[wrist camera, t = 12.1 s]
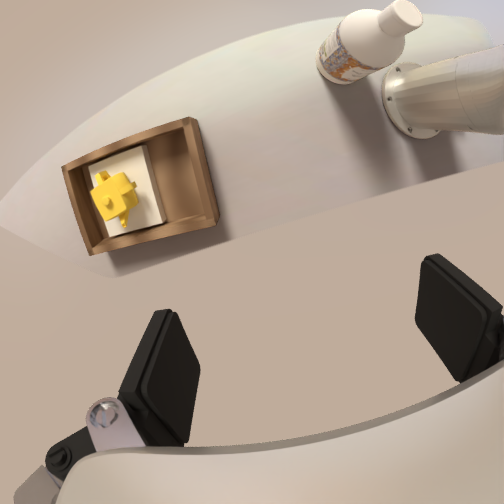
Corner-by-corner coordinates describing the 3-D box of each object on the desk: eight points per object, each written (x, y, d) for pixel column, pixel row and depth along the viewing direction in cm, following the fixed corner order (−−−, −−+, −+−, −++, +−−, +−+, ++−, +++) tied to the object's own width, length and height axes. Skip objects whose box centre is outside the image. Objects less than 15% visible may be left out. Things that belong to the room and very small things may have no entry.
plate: (146, 145, 34) (141, 145, 32) (166, 218, 38) (162, 222, 36) (94, 164, 35) (88, 166, 33) (115, 232, 39) (109, 236, 37)
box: (196, 119, 34) (189, 116, 29) (219, 215, 39) (216, 225, 34) (79, 162, 35) (61, 166, 31) (103, 243, 40) (89, 256, 36)
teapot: (155, 208, 35) (142, 219, 31) (123, 225, 36) (107, 238, 32) (130, 156, 33) (113, 160, 28) (99, 177, 33) (80, 183, 29)
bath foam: (319, 85, 32) (383, 42, 14) (310, 43, 29) (360, -26, 11) (364, 85, 32) (450, 55, 13) (355, 43, 29) (428, -9, 10)
